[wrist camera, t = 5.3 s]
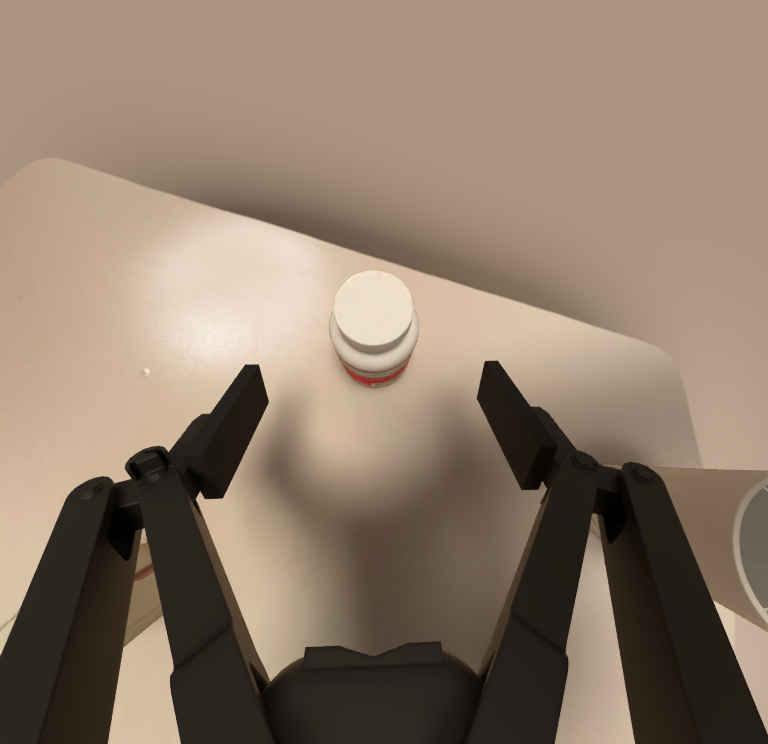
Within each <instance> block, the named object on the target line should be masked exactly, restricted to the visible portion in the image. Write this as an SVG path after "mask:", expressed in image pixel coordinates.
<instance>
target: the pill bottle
mask: <svg viewBox="0 0 768 744" xmlns="http://www.w3.org/2000/svg"><path fill="white" fill-rule="evenodd" d="M329 333H330V338H331V341H332V344H333V347H334V349H335V351H336V353H337V354H338V356H339V358H340V360H341V362H342V364H343V366H344V368H345V369H346V371H347V373H348V374H349V375H350V376H351V378H352V379H354V380H355V381H356V382H358V383H359V384H361V385H364V386H367V387H373V388H378V387H384V386H387V385H389V384H391V383H393V382H395V381H396V380H397V379H398V378H399V377H400V376H401V375H402V374H403V372H404V371H405V369H406V367H407V364H408V362H409V359H410V357H411V354H412V352H413V349H414V347H415V345H416V342H417V338H418V333H419V322H418V317H417V313H416V311H415V309H414V307H413V300H412V297H411V294H410V292H409V290H408V288H407V287H406V286H405V284H404V283H403V282H402V281H401V280H400V279H398V278H397V277H395V276H393V275H391V274H389V273H386V272H383V271H375V270H372V271H364V272H361V273H358V274H355V275H353V276H352V277H350V278H349V279H347V280H346V281H345V282H344V283H343V284H342V285H341V287H340V288H339V290H338V292H337V294H336V296H335V299H334V305H333V311H332V314H331V317H330V321H329Z"/></svg>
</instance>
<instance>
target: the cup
mask: <svg viewBox="0 0 768 744" xmlns="http://www.w3.org/2000/svg"><path fill="white" fill-rule="evenodd" d="M603 466H607V467H612V468H616V469H621V467H622V466H619V465H611V464H605V465H603ZM649 468H650V469H652V470H654V471H655V472H656V473H657V474H658V475H659V476H661V478H662V479H663V481H664V483H665V485H666V488H667V490H668V493H669V495H670V497H671V500H672V502H673V505H674V507H675V510H676V512H677V515H678V517H679V519H680V522H681V524H682V527H683V529H684V532H685V534H686V537H687V539H688V541H689V544H690V546H691V549H692V551H693V554H694V556H695V558H696V561H697V563H698V566H699V568H700V571H701V573H702V576H703V578H704V580H705V583H706V585H707V588H708V590H709V593H710V595H711V598H712V600H714V601H716V602H717V603H719V604H721V605H723V606H724V607H726V608H728V609H729V610H731V611H733V612H735V613H736V614H738V615H740V616H741V617H743V618H745V619H747V620H748V621H750V622H752V623H753V624H755V625H757V626H758V627H760V628H762V629H764V630H765V631H767V632H768V471H755V470H718V469H691V468H664V467H649ZM590 529H591V530H592V531H593V532H594V533H595V534H597V535H598V536H599V537H601V535H600V529H599V523H598V517H597V514H593V513H592V518H591V523H590Z"/></svg>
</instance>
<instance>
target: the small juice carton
mask: <svg viewBox="0 0 768 744" xmlns="http://www.w3.org/2000/svg"><path fill="white" fill-rule="evenodd" d="M19 610H20V609H19ZM19 610H18V611H17V612H16V613H15V614H14V615H13V616H11V617H10V618H9V619H8V620H7V621H6V622H5V623H4V624H3V625H1V626H0V655H1V653H2V651H3V648H4V646H5V643H6V641H7V639H8V636H9V634H10V631H11V629H12V627H13V624H14V622H15V620H16V617H17V615H18V612H19ZM162 615H163V611H162V607H161V602H160V597H159V593H158V588H157V583H156V578H155V574H154V569H153V564H152V560H151V555H150V550H149V545H148V542H147V543H145V544H142V545H140V546H139V552H138V559H137V565H136V571H135V577H134V583H133V590H132V596H131V602H130V608H129V614H128V621H127V627H126V633H125V639H124V645H123V647H125V646H126V645H127V644H128V643H129V642H131V641H132V640H133V639H134V638H136V637H137V636H138V635H139V634H140V633H142V632H143V631H144V630H145V629H147V628H148V627H149V626H150V625H151V624H153V623H154V622H155V621H156V620H157V619H159V618H160V617H161V616H162Z"/></svg>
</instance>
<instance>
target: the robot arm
mask: <svg viewBox="0 0 768 744" xmlns="http://www.w3.org/2000/svg"><path fill="white" fill-rule="evenodd" d="M477 400H478V402H479V404H480V406H481V408H482V410H483V412H484V414H485V416H486V418H487V420H488V422H489V424H490V426H491V428H492V431H493V433H494V435H495V437H496V439H497V441H498V443H499V445H500V447H501V449H502V451H503V453H504V455H505V457H506V459H507V461H508V463H509V465H510V467H511V470H512V472H513V474H514V476H515V478H516V480H517V482H518V484H519V486H520V488H521V490H538V489H539V487H540V485H541V483H542V481H543V482H544V484H545V486H546V488H547V490H546V492H545V494H544V496H543V498H542V500H541V502H540V504H541V506H540V508H539V511H538V514H537V516H536V519H535V522H534V525H533V527H532V530H531V533H530V536H529V538H528V541H527V544H526V546H525V549H524V552H523V555H522V557H521V560H520V563H519V566H518V568H517V571H516V574H515V577H514V579H513V582H512V585H511V587H510V590H509V593H508V596H507V598H506V601H505V604H504V607H503V609H502V612H501V615H500V617H499V620H498V623H497V626H496V628H495V631H494V634H493V637H492V639H491V642H490V644H489V647H488V649H487V651H486V654H485V656H484V658H483V661H482V663H481V666H480V668H479V671H478V674H476V673H475V672H474V671H473V670H472V669H471V668H470V667H469V666H468V665H467V664H465V663H464V662H463V661H461V660H460V659H459V658H457V657H455V656H453V655H451V654H449V653H447V652H444V651H442V648H441V642H418V643H406V644H404V645H402V646H399V647H397V648H394V649H392V650H389V651H387V652H384V653H382V654H380V655H377V656H369V655H366V654H363V653H360V652H356V651H353V650H350V649H347V648H344V647H341V646H323V647H305V654H304V657H303V658H300V659H298V660H296V661H295V662H293V663H291V664H290V665H288V666H287V667H286V668H284V669H283V670H282V671H281V672H280V673H279V674H278V675H276V676H275V677H274V678H273V680H272V681H271V682H270V679H269V677H268V675H267V672H266V670H265V668H264V666H263V664H262V662H261V660H260V658H259V656H258V654H257V651H256V649H255V646H254V644H253V641H252V639H251V636H250V634H249V631H248V629H247V626H246V624H245V621H244V619H243V616H242V614H241V611H240V608H239V606H238V603H237V601H236V598H235V596H234V593H233V591H232V588H231V586H230V583H229V581H228V578H227V576H226V573H225V571H224V568H223V565H222V563H221V560H220V558H219V555H218V553H217V550H216V548H215V545H214V543H213V540H212V538H211V535H210V533H209V530H208V528H207V525H206V522H205V520H204V517H203V515H202V512H201V510H200V507H199V505H198V503H197V501H196V497H197V496H198V494H199V492H200V491H201V493H202V495H203V496H204V498H205V499H221V498H223V497H224V495H225V493H226V491H227V489H228V487H229V485H230V482H231V480H232V478H233V476H234V474H235V472H236V470H237V468H238V466H239V464H240V462H241V459H242V457H243V455H244V453H245V451H246V449H247V447H248V445H249V443H250V441H251V439H252V437H253V434H254V432H255V430H256V428H257V426H258V424H259V422H260V420H261V418H262V416H263V414H264V411H265V409H266V407H267V405H268V403H269V400H268V397H267V393H266V389H265V386H264V382H263V378H262V375H261V371H260V367H259V365H245V366H244V367H243V369H242V370H241V371H240V373H239V374H238V376H237V377H236V378H235V380H234V381H233V383H232V384H231V385H230V387H229V388H228V390H227V391H226V392H225V394H224V395H223V397H222V398H221V399H220V401H219V402H218V404H217V405H216V406H215V408H214V409H213V411H212V412H211V414H202V415H200V416H199V417H197V418H196V419H195V420H193V421H192V422H191V424H190V425H189V426H188V428H187V429H186V431H185V432H184V433H183V434H182V436H181V438H179V439H178V441H177V442H176V443H175V445H174V446H173V447H172V449H171V450H170V451H169V453H168V451H167V450H166V449H165V447H161V446H154V447H149V448H146V449H143V450H142V451H140V452H138V453H136V454H135V455H134V456H132V457H131V458H130V459H129V460H128V462H127V463H126V465H125V470H126V471H127V473H128V474H129V475H130V477H131V478H132V479H130V480H126V481H122V482H118V483H114V482H113V480H112V479H110V478H109V477H104V476H102V477H97V478H93V479H91V480H88V481H86V482H84V483H82V484H81V485H79V486H78V487H76V488H75V489H74V490H73V491H72V492H71V493H70V494H69V495H68V497H67V498H66V500H65V503H64V505H63V507H62V510H61V512H60V515H59V517H58V519H57V522H56V524H55V526H54V529H53V531H52V534H51V536H50V538H49V541H48V543H47V546H46V548H45V550H44V553H43V555H42V558H41V560H40V562H39V565H38V567H37V569H36V572H35V574H34V577H33V579H32V581H31V584H30V586H29V589H28V591H27V593H26V596H25V598H24V600H23V603H22V605H21V608H20V610H19V612H18V615H17V617H16V620H15V622H14V624H13V627H12V629H11V631H10V634H9V636H8V639H7V641H6V643H5V646H4V648H3V651H2V653H1V655H0V744H108V739H109V732H110V726H111V720H112V714H113V707H114V701H115V695H116V689H117V683H118V676H119V670H120V664H121V658H122V652H123V645H124V639H125V633H126V627H127V621H128V614H129V608H130V602H131V596H132V590H133V583H134V577H135V571H136V565H137V559H138V552H139V546H140V540H141V534H142V529H143V528H145V531H146V536H147V541H148V545H149V550H150V555H151V560H152V564H153V569H154V574H155V578H156V583H157V588H158V593H159V597H160V602H161V607H162V611H163V616H164V621H165V626H166V630H167V635H168V640H169V644H170V649H171V654H172V659H173V664H174V671H173V672H172V674H171V676H170V688H171V695H172V700H173V705H174V710H175V715H176V720H177V725H178V731H179V736H180V741H181V744H555V739H556V733H557V728H558V722H559V717H560V712H561V706H562V701H563V695H564V690H565V684H566V679H567V673H568V657H567V655H566V644H567V639H568V634H569V629H570V624H571V619H572V614H573V609H574V603H575V598H576V593H577V588H578V583H579V578H580V573H581V568H582V563H583V558H584V553H585V548H586V543H587V538H588V533H589V528H590V523H591V518H592V513H593V514H597V517H598V523H599V529H600V535H601V541H602V547H603V553H604V559H605V565H606V571H607V577H608V583H609V590H610V596H611V602H612V608H613V614H614V620H615V626H616V632H617V638H618V644H619V650H620V656H621V662H622V668H623V674H624V680H625V686H626V692H627V698H628V704H629V710H630V716H631V722H632V728H633V734H634V740H635V744H768V734H767V732H766V729H765V727H764V724H763V722H762V720H761V717H760V715H759V712H758V710H757V707H756V705H755V703H754V700H753V698H752V695H751V693H750V690H749V688H748V685H747V683H746V681H745V678H744V676H743V673H742V671H741V668H740V666H739V664H738V661H737V659H736V656H735V654H734V651H733V649H732V646H731V644H730V641H729V639H728V637H727V634H726V632H725V629H724V627H723V624H722V622H721V619H720V617H719V615H718V612H717V610H716V607H715V605H714V602H713V600H712V598H711V595H710V593H709V590H708V588H707V585H706V583H705V580H704V578H703V576H702V573H701V571H700V568H699V566H698V563H697V561H696V558H695V556H694V554H693V551H692V549H691V546H690V544H689V541H688V539H687V537H686V534H685V532H684V529H683V527H682V524H681V522H680V519H679V517H678V515H677V512H676V510H675V507H674V505H673V502H672V500H671V497H670V495H669V493H668V490H667V488H666V485H665V483H664V481H663V479H662V478H661V476H659V475H658V474H657V473H656V472H655V471H654V470H652V469H650V468H649V467H647V466H644V465H642V464H639V463H634V462H629V463H625V464H624V465H623V466H622V467H621V469H616V468H612V467H607V466H603V465H599V463H598V462H597V461H596V460H595V459H594V458H593V457H592V456H590V455H588V454H586V453H584V452H581V451H578V450H576V448H575V447H574V446H573V444H572V443H571V442H570V441H569V439H568V438H567V437H566V435H565V434H564V433H563V431H562V430H561V429H559V426H558V425H557V424H556V422H554V420H553V418H552V417H551V416H550V415H549V413H547V412H546V411H545V410H543V409H542V408H541V407H530V405H529V404H528V403H527V401H526V400H525V398H524V397H523V395H522V394H521V393H520V391H519V390H518V388H517V387H516V386H515V384H514V383H513V381H512V380H511V379H510V377H509V376H508V374H507V373H506V372H505V370H504V369H503V367H502V366H501V365H500V363H499V362H498V361H485V363H484V368H483V372H482V377H481V381H480V386H479V390H478V395H477Z"/></svg>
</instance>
